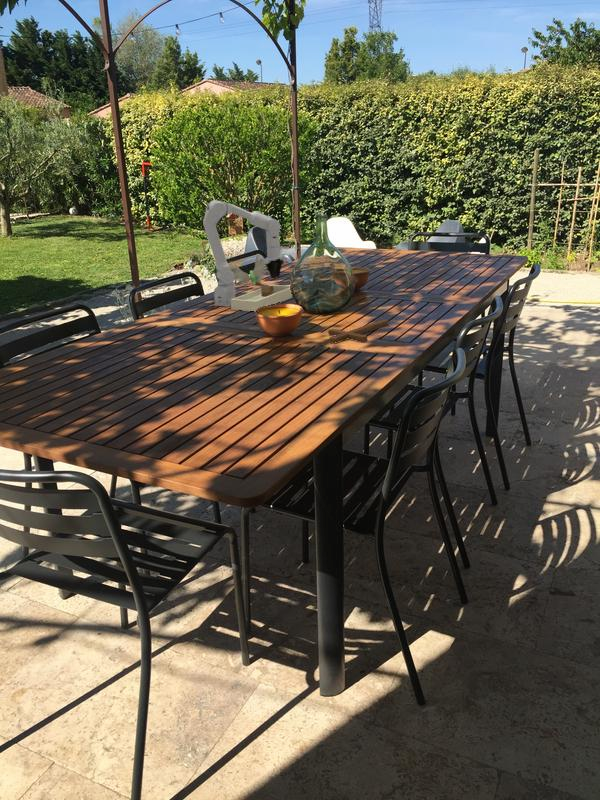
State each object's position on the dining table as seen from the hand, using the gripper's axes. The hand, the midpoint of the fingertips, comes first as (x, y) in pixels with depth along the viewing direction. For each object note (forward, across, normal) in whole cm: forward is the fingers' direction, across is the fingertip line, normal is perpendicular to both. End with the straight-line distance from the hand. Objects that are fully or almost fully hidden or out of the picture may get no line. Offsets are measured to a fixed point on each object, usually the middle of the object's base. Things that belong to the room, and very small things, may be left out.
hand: (275, 277), depth 288 cm
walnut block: (+7, -7, 0) cm, 10 cm away
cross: (+10, -41, -61) cm, 74 cm away
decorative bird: (+10, +23, +30) cm, 39 cm away
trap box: (+9, -10, 0) cm, 14 cm away
